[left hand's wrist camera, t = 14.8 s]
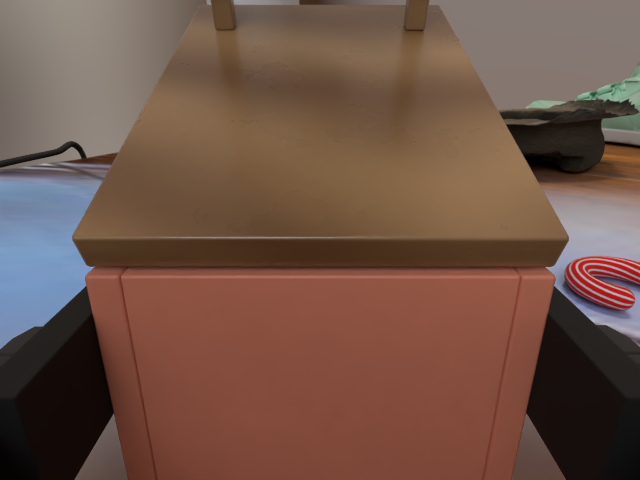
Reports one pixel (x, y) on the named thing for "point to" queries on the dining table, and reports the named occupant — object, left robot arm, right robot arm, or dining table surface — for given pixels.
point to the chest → (320, 369)
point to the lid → (320, 151)
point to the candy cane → (598, 291)
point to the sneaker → (619, 128)
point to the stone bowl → (565, 131)
